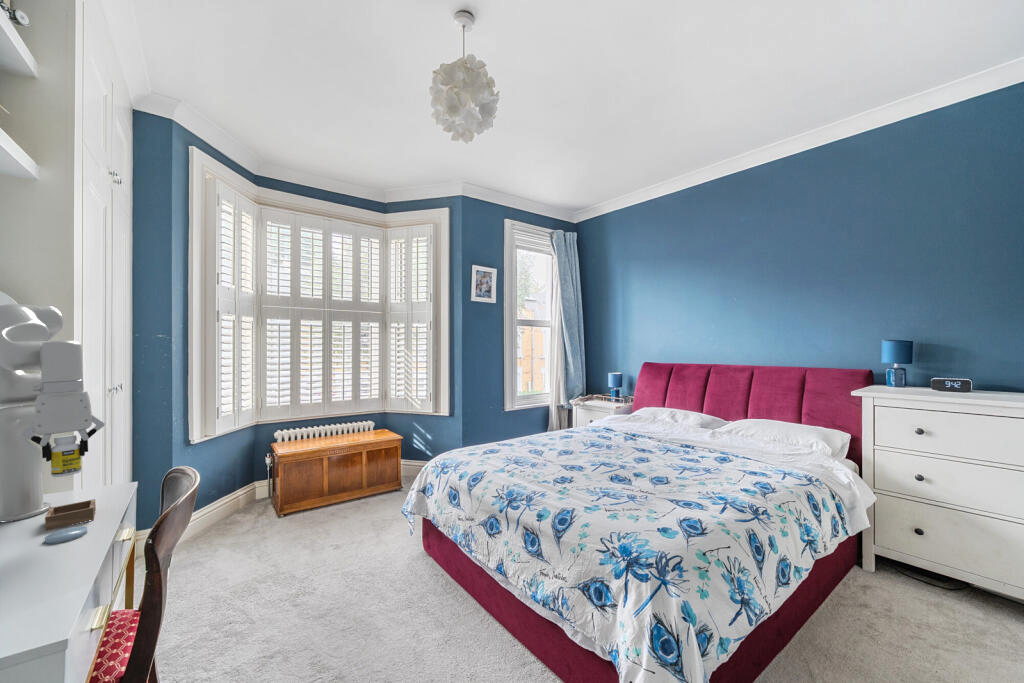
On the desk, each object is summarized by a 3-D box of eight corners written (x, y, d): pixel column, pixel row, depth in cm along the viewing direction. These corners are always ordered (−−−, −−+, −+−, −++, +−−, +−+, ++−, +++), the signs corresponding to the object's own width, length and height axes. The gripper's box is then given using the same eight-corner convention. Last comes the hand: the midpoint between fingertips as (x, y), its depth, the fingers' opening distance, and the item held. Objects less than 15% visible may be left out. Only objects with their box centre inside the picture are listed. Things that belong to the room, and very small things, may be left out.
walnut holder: (50, 520, 120) (50, 507, 120) (95, 510, 126) (95, 499, 126) (45, 530, 113) (45, 517, 113) (93, 520, 119) (93, 507, 119)
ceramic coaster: (35, 545, 104) (35, 541, 104) (61, 532, 112) (61, 528, 112) (72, 541, 106) (72, 537, 106) (94, 528, 113) (94, 525, 113)
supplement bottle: (62, 477, 107) (60, 439, 107) (45, 477, 108) (43, 439, 108) (87, 471, 113) (85, 434, 113) (71, 470, 114) (69, 434, 114)
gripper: (9, 392, 102) (13, 468, 102) (108, 385, 113) (111, 453, 114) (15, 391, 107) (18, 462, 107) (108, 384, 119) (111, 448, 119)
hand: (66, 457), depth 110 cm, fingers closed on supplement bottle, 5 cm apart
